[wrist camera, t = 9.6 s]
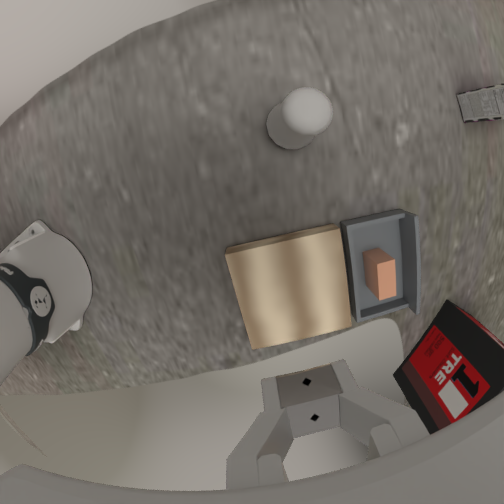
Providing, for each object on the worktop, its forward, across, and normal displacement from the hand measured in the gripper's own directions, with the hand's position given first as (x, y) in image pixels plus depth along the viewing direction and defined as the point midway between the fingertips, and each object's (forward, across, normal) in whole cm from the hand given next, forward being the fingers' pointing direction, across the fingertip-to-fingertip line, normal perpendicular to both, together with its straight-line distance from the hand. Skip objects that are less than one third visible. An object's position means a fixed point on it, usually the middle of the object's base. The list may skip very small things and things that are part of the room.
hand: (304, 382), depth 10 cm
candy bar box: (+27, -39, -12) cm, 49 cm away
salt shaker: (+28, -6, -11) cm, 31 cm away
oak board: (+28, -3, +9) cm, 30 cm away
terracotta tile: (+25, -13, +9) cm, 29 cm away
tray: (+28, -15, +9) cm, 33 cm away
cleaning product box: (+27, -27, +28) cm, 48 cm away
